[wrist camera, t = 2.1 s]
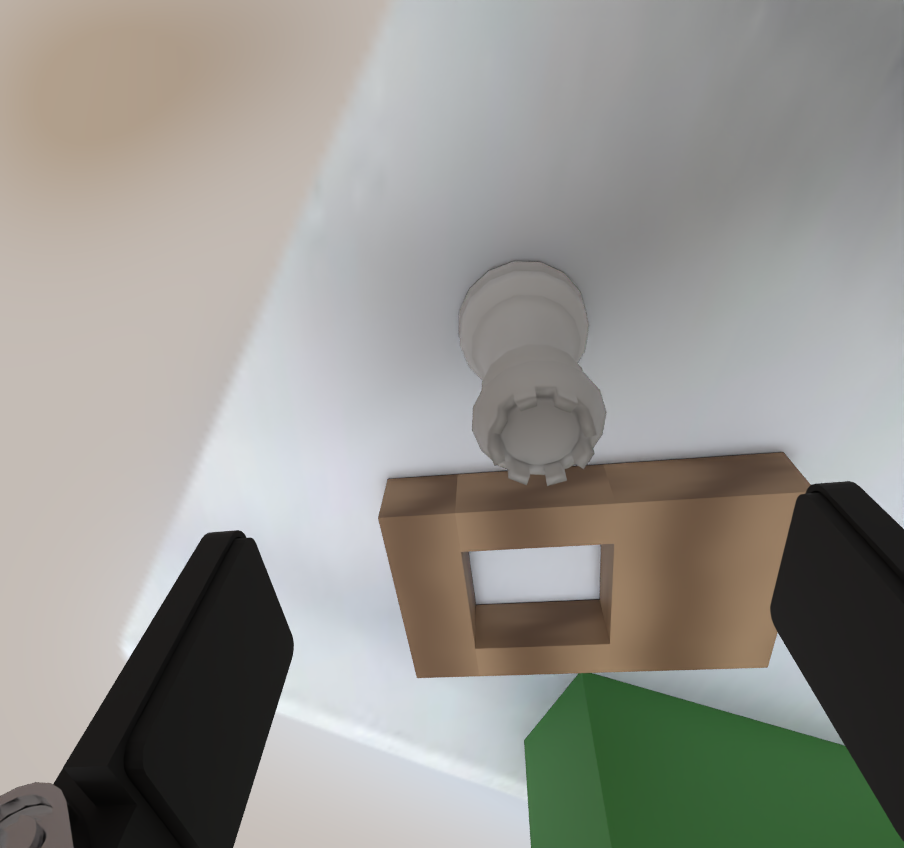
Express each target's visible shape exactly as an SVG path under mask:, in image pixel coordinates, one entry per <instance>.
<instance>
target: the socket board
mask: <svg viewBox="0 0 904 848" xmlns="http://www.w3.org/2000/svg"><path fill="white" fill-rule="evenodd" d="M565 473H566V478H567V481H564V482H560V483H556V484H553V485H549V486H547V482H546V476H545V475H535V474H530V477H529V480H528V483H527V485H525V484H522V483H519V482H517V481H514V480H512V479H509V478H508V471H500V472H485V473H471V474H456V475H441V476H426V477H412V478H397V479H388V480H387V484H386V488H385V492H384V496H383V500H382V504H381V508H380V512H379V516H378V519H379V524H380V528H381V532H382V536H383V540H384V544H385V548H386V552H387V556H388V561H389V565H390V569H391V573H392V577H393V581H394V585H395V589H396V594H397V598H398V602H399V606H400V610H401V614H402V618H403V622H404V626H405V631H406V635H407V639H408V643H409V647H410V651H411V655H412V659H413V663H414V668H415V672H416V676H417V678H434V677H467V676H500V675H534V674H567V673H600V672H634V671H667V670H700V669H734V668H767V667H768V665H769V661H770V657H771V654H772V650H773V647H774V643H775V639H776V636H777V630H776V628H775V626H774V624H773V621H772V618H771V614H770V605H771V600H772V596H773V592H774V588H775V584H776V580H777V576H778V572H779V568H780V564H781V560H782V556H783V551H784V547H785V543H786V539H787V535H788V531H789V527H790V523H791V519H792V515H793V511H794V507H795V503H796V500H797V497H798V496H799V495H800V494H805V493H806V491H807V488H808V487H809V486H810V485H811V484H810V483H809V482H808V481H807V480H806V478H805V477H804V476H803V475H802V474H801V473H800V471H799V470H798V469H797V468H796V467H795V465H794V464H793V463H792V462H791V461H790V459H789V458H788V457H787V456H786V455H785V453H784V452H780V453H765V454H750V455H736V456H721V457H706V458H692V459H677V460H662V461H647V462H633V463H618V464H603V465H588V466H586V467H585V468H584V469H583V468H581V467H579V466H574V467H570V468H567V469H565ZM599 544H601V569H600V600H581V601H558V602H535V603H512V604H489V605H476V602H475V595H474V588H473V580H472V573H471V566H470V559H469V552H468V551H487V550H505V549H524V548H543V547H562V546H580V545H599Z"/></svg>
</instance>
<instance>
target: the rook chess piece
mask: <svg viewBox="0 0 904 848" xmlns="http://www.w3.org/2000/svg"><path fill="white" fill-rule="evenodd" d="M588 329H589V322H588V319H587V313H586V310H585V306H584V303H583V299H582V296H581V292H580V291H579V290H578V288H577V287H576V286H575V285H574V284H573V283H572V282H571V280H570V279H569V278H568V277H567V276H566V275H565V273H563V272H561V271H559V270H557V269H555V268H552V267H550V266H548V265H546V264H544V263H541V262H520V261H513V262H511V263H508V264H505V265H503V266H500V267H497V268H495V269H492V270H490V271H488V272H487V273H486V274H485V275H484V276H482V277H481V278H480V279H479V280H478V281H477V282H476V283H475V284H474V285H473V286H472V287H471V288H470V289H469V291H468V293H467V295H466V297H465V299H464V302H463V304H462V306H461V308H460V310H459V338H460V347H461V349H462V352H463V354H464V356H465V359H466V361H467V364H468V366H469V367H470V369H471V370H472V371H473V372H474V373H475V374H476V375H477V376H478V377H479V378H480V379H482V380H483V381H482V391H481V393H480V395H479V397H478V399H477V401H476V403H475V405H474V407H473V420H472V431H473V433H474V435H475V438H476V440H477V442H478V444H479V447H480V449H481V451H483V452H484V453H485V454H486V455H487V456H488V457H489V458H490V459H491V460H492V461H493V463H494V466H495V465H498V466H501V467H503V468H506V469H508V478H509V479H512V480H514V481H517V482H519V483H522V484H525V485H527V483H528V480H529V477H530V474H535V475H545V476H546V482H547V486H549V485H553V484H556V483H560V482H564V481H567V478H566V473H565V469H567V468H570V467H571V466H573V465H574V464H576V465H578V466H579V467H581V468H583V469H584V468H585V467H586V465H587V464H588V462H589V461H590V459H591V458H592V456H593V455H594V454H595V453H594V450H593V448H594V446H595V445H596V443H597V442H598V440H599V439H600V437H601V436H602V434H603V429H604V423H605V418H606V409H605V405H604V402H603V399H602V395H601V392H600V389H599V388H598V387H597V386H596V385H595V384H594V383H593V382H592V381H591V380H590V379H589V378H588V377H587V376H586V374H585V373H584V372H583V371H582V368H581V367H580V365H579V364H578V362H579V361H580V359H581V357H582V356H583V354H584V352H585V349H586V343H587V336H588Z"/></svg>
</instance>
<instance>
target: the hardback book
mask: <svg viewBox="0 0 904 848" xmlns="http://www.w3.org/2000/svg"><path fill="white" fill-rule="evenodd" d="M524 745H525V761H526V777H527V792H528V808H529V824H530V837H531V838H530V839H531V848H904V841H903V840H902V839H901V838H900V836H899V835H898V833H897V832H896V830H895V829H894V827H893V825H892V823H891V822H890V820H889V818H888V817H887V815H886V813H885V812H884V810H883V808H882V807H881V805H880V803H879V802H878V800H877V798H876V797H875V795H874V793H873V792H872V790H871V788H870V786H869V785H868V783H867V781H866V780H865V778H864V776H863V775H862V773H861V771H860V770H859V768H858V766H857V765H856V763H855V761H854V760H853V758H852V756H851V755H850V753H849V751H848V749H847V748H846V746H844V745H840V744H837V743H833V742H830V741H826V740H823V739H819V738H816V737H812V736H809V735H805V734H802V733H798V732H795V731H791V730H788V729H784V728H781V727H777V726H774V725H771V724H767V723H764V722H760V721H757V720H753V719H750V718H746V717H743V716H739V715H736V714H732V713H729V712H725V711H722V710H718V709H715V708H711V707H708V706H704V705H701V704H697V703H694V702H690V701H687V700H683V699H680V698H676V697H673V696H669V695H666V694H662V693H659V692H655V691H652V690H648V689H645V688H641V687H638V686H634V685H631V684H627V683H624V682H620V681H617V680H613V679H610V678H606V677H603V676H599V675H596V674H592V673H579V674H578V675H577V676H576V677H575V679H574V680H573V681H572V682H571V684H570V685H569V686H568V687H567V689H566V690H565V691H564V692H563V693H562V695H561V696H560V697H559V698H558V700H557V701H556V702H555V703H554V704H553V706H552V707H551V708H550V709H549V711H548V712H547V713H546V714H545V716H544V717H543V718H542V719H541V720H540V722H539V723H538V724H537V725H536V727H535V728H534V729H533V730H532V731H531V733H530V734H529V735H528V736H527V738H526V739H525V740H524Z"/></svg>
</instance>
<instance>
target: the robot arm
mask: <svg viewBox="0 0 904 848" xmlns="http://www.w3.org/2000/svg"><path fill="white" fill-rule="evenodd" d="M770 614H771V618H772V621H773V624H774V626H775V628H776V630H777V632H778V634H779V635H780V637H781V639H782V640H783V642H784V644H785V645H786V647H787V649H788V650H789V652H790V654H791V655H792V657H793V659H794V660H795V662H796V664H797V665H798V667H799V669H800V670H801V672H802V674H803V676H804V677H805V679H806V681H807V682H808V684H809V686H810V687H811V689H812V691H813V692H814V694H815V696H816V697H817V699H818V701H819V702H820V704H821V706H822V707H823V709H824V711H825V713H826V714H827V716H828V718H829V719H830V721H831V723H832V724H833V726H834V728H835V729H836V731H837V733H838V734H839V736H840V738H841V739H842V741H843V743H844V744H845V746H846V748H847V749H848V751H849V753H850V755H851V756H852V758H853V760H854V761H855V763H856V765H857V766H858V768H859V770H860V771H861V773H862V775H863V776H864V778H865V780H866V781H867V783H868V785H869V786H870V788H871V790H872V792H873V793H874V795H875V797H876V798H877V800H878V802H879V803H880V805H881V807H882V808H883V810H884V812H885V813H886V815H887V817H888V818H889V820H890V822H891V823H892V825H893V827H894V829H895V830H896V832H897V833H898V835H899V836H900V838H901V839H902V840H903V841H904V529H903V528H902V527H901V526H900V525H899V524H898V523H897V522H896V521H895V520H894V519H893V518H892V517H891V516H890V515H889V514H888V513H887V512H885V511H884V510H883V509H882V508H881V507H880V506H879V505H878V504H877V503H876V502H875V501H874V500H873V499H872V498H871V497H870V496H869V495H868V494H867V493H866V492H865V491H864V490H863V489H862V488H861V487H860V486H858V485H857V484H855V483H854V482H850V481H846V482H833V483H821V484H813V485H810V486H809V487H808V488H807V491H806V493H805V494H800V495H799V496H798V497H797V500H796V503H795V507H794V511H793V515H792V519H791V523H790V527H789V531H788V535H787V539H786V543H785V547H784V551H783V556H782V560H781V564H780V568H779V572H778V576H777V580H776V584H775V588H774V592H773V596H772V600H771V605H770ZM293 650H294V643H293V637H292V634H291V631H290V629H289V626H288V624H287V621H286V619H285V616H284V613H283V611H282V608H281V606H280V603H279V601H278V598H277V596H276V593H275V591H274V588H273V585H272V583H271V580H270V578H269V575H268V573H267V570H266V568H265V565H264V563H263V560H262V557H261V555H260V552H259V550H258V547H257V545H256V543H255V541H254V539H252V538H246V536H245V534H244V533H243V532H242V531H238V530H237V531H224V532H212V533H207V534H205V535H204V537H203V538H202V539H201V541H200V542H199V544H198V546H197V547H196V549H195V551H194V552H193V554H192V556H191V557H190V559H189V561H188V562H187V564H186V566H185V567H184V569H183V570H182V572H181V574H180V575H179V577H178V579H177V580H176V582H175V584H174V585H173V587H172V589H171V590H170V592H169V594H168V595H167V597H166V599H165V600H164V602H163V603H162V605H161V607H160V608H159V610H158V612H157V613H156V615H155V617H154V618H153V620H152V622H151V623H150V625H149V627H148V628H147V630H146V632H145V633H144V635H143V636H142V638H141V640H140V641H139V643H138V645H137V646H136V648H135V650H134V651H133V653H132V655H131V656H130V658H129V660H128V661H127V663H126V665H125V666H124V668H123V670H122V671H121V673H120V674H119V676H118V678H117V680H116V681H115V683H114V685H113V686H112V688H111V689H110V691H109V693H108V694H107V696H106V698H105V699H104V701H103V703H102V704H101V706H100V708H99V709H98V711H97V712H96V714H95V716H94V717H93V719H92V721H91V722H90V724H89V726H88V727H87V729H86V731H85V732H84V734H83V736H82V737H81V739H80V741H79V742H78V744H77V746H76V747H75V749H74V751H73V752H72V754H71V755H70V757H69V759H68V760H67V762H66V764H65V765H64V767H63V769H62V771H61V772H60V774H59V776H58V777H57V779H56V781H55V782H54V784H51V783H39V782H35V783H32V784H27V785H24V786H20V787H17V788H15V789H13V790H11V791H9V792H7V793H5V794H3V795H1V796H0V848H233V846H234V843H235V840H236V837H237V833H238V830H239V827H240V824H241V820H242V817H243V814H244V811H245V808H246V804H247V801H248V798H249V794H250V792H251V788H252V785H253V782H254V779H255V776H256V772H257V769H258V766H259V763H260V760H261V756H262V753H263V750H264V747H265V743H266V740H267V737H268V734H269V730H270V727H271V724H272V721H273V718H274V715H275V711H276V708H277V705H278V702H279V699H280V695H281V692H282V689H283V686H284V683H285V679H286V676H287V673H288V670H289V666H290V663H291V660H292V656H293Z"/></svg>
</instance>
